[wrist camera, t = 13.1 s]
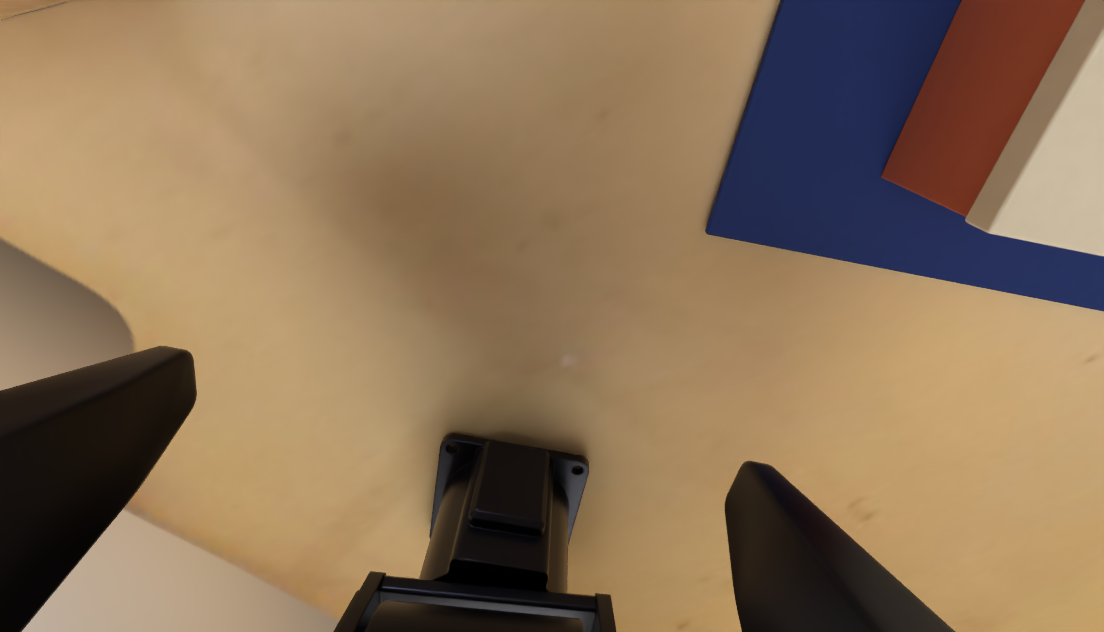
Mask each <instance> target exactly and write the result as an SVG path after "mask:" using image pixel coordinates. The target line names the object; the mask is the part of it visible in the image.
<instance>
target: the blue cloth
mask: <svg viewBox="0 0 1104 632" xmlns="http://www.w3.org/2000/svg"><path fill="white" fill-rule="evenodd" d="M960 3H961V0H781V2H780V5H779V8H778V11H777V14H776V17H775V20H774V23H773V26H772V29H771V32H770V35H769V38H768V41H767V44H766V47H765V50H764V53H763V56H762V60H761V63H760V66H759V69H758V72H757V75H756V78H755V81H754V84H753V87H752V90H751V93H750V96H749V99H748V102H747V105H746V108H745V111H744V114H743V118H742V121H741V124H740V127H739V130H738V133H737V136H736V139H735V142H734V145H733V148H732V151H731V154H730V157H729V160H728V163H727V166H726V169H725V172H724V176H723V179H722V182H721V185H720V188H719V191H718V194H717V197H716V200H715V203H714V206H713V209H712V212H711V215H710V218H709V221H708V224H707V227H706V231H705V232H706V233H707V234H709V235H714V236H720V237H725V238H730V239H735V240H740V241H745V242H750V243H756V244H761V245H766V246H771V247H776V248H781V249H786V250H792V251H797V252H802V253H807V254H812V255H817V256H822V257H828V258H833V259H838V260H843V261H848V262H853V263H858V264H864V265H869V266H874V267H879V268H884V269H889V270H894V271H900V272H905V273H910V274H915V275H920V276H925V277H930V278H936V279H941V280H946V281H951V282H956V283H961V284H966V285H972V286H977V287H982V288H987V289H992V290H997V291H1002V292H1008V293H1013V294H1018V295H1023V296H1028V297H1033V298H1038V299H1044V300H1049V301H1054V302H1059V303H1064V304H1069V305H1075V306H1080V307H1085V308H1090V309H1095V310H1100V311H1104V256H1099V255H1094V254H1089V253H1084V252H1079V251H1074V250H1069V249H1064V248H1059V247H1054V246H1049V245H1044V244H1039V243H1034V242H1029V241H1024V240H1019V239H1014V238H1010V237H1005V236H1000V235H995V234H990V233H987V232H985V231H983V230H981V229H979V228H977V227H975V226H973V225H970V224H968V223H967V222H966V221H965V218H966V217H965V216H963V215H961V214H959V213H956V212H954V211H952V210H950V209H948V208H946V207H944V206H942V205H939V204H937V203H935V202H933V201H931V200H929V199H927V198H924V197H922V196H920V195H918V194H916V193H914V192H912V191H910V190H907V189H905V188H903V187H901V186H899V185H897V184H895V183H892V182H890V181H888V180H886V179H884V178H882V177H881V175H882V172H883V170H884V168H885V166H886V164H887V162H888V159H889V157H890V155H891V153H892V151H893V149H894V146H895V144H896V142H897V140H898V138H899V135H900V133H901V131H902V129H903V127H904V125H905V122H906V120H907V118H908V116H909V114H910V112H911V109H912V107H913V105H914V103H915V101H916V98H917V96H918V94H919V92H920V90H921V88H922V85H923V83H924V81H925V79H926V77H927V74H928V72H929V70H930V68H931V66H932V64H933V61H934V59H935V57H936V55H937V53H938V51H939V48H940V46H941V44H942V42H943V40H944V37H945V35H946V33H947V31H948V29H949V27H950V24H951V22H952V20H953V18H954V16H955V14H956V11H957V9H958V7H959V5H960Z"/></svg>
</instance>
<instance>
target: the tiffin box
mask: <svg viewBox="0 0 1104 632" xmlns="http://www.w3.org/2000/svg"><path fill="white" fill-rule="evenodd" d="M881 177H882V178H884V179H886V180H888V181H890V182H892V183H895V184H897V185H899V186H901V187H903V188H905V189H907V190H910V191H912V192H914V193H916V194H918V195H920V196H922V197H924V198H927V199H929V200H931V201H933V202H935V203H937V204H939V205H942V206H944V207H946V208H948V209H950V210H952V211H954V212H956V213H959V214H961V215H963V216H965V217H966V218H965V221H966V222H967V223H968V224H970V225H973V226H975V227H977V228H979V229H981V230H983V231H985V232H987V233H990V234H995V235H1000V236H1005V237H1010V238H1014V239H1019V240H1024V241H1029V242H1034V243H1039V244H1044V245H1049V246H1054V247H1059V248H1064V249H1069V250H1074V251H1079V252H1084V253H1089V254H1094V255H1099V256H1104V0H961V3H960V5H959V7H958V9H957V11H956V14H955V16H954V18H953V20H952V22H951V24H950V27H949V29H948V31H947V33H946V35H945V37H944V40H943V42H942V44H941V46H940V48H939V51H938V53H937V55H936V57H935V59H934V61H933V64H932V66H931V68H930V70H929V72H928V74H927V77H926V79H925V81H924V83H923V85H922V88H921V90H920V92H919V94H918V96H917V98H916V101H915V103H914V105H913V107H912V109H911V112H910V114H909V116H908V118H907V120H906V122H905V125H904V127H903V129H902V131H901V133H900V135H899V138H898V140H897V142H896V144H895V146H894V149H893V151H892V153H891V155H890V157H889V159H888V162H887V164H886V166H885V168H884V170H883V172H882V175H881Z"/></svg>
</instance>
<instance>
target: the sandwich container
mask: <svg viewBox="0 0 1104 632" xmlns="http://www.w3.org/2000/svg"><path fill="white" fill-rule="evenodd" d="M68 1H71V0H0V20H1V19H4V18H8V17H12V16H16V15H19V14H23V13H27V12H32V11H36V10H40V9H44V8H47V7H50V6H54V5H57V4H60V3H64V2H68Z"/></svg>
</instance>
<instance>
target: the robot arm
mask: <svg viewBox="0 0 1104 632" xmlns="http://www.w3.org/2000/svg"><path fill="white" fill-rule="evenodd" d="M196 396H197V390H196V380H195V370H194V360H193V356H192V355H191V353H190V352H188V351H187V350H183V349H178V348H173V347H168V346H158V347H154V348H151V349H147V350H144V351H140V352H136V353H133V354H129V355H126V356H122V357H119V358H115V359H112V360H108V361H105V362H102V363H98V364H94V365H91V366H87V367H83V368H80V369H77V370H73V371H69V372H65V373H62V374H58V375H55V376H51V377H48V378H44V379H41V380H37V381H34V382H30V383H26V384H23V385H19V386H16V387H13V388H9V389H5V390H2V391H0V632H22V630H23V629H24V628H25V627H26V625H27V624H28V623H29V622H30V621H31V619H32V618H33V617H34V616H35V615H36V613H37V612H38V611H39V610H40V609H41V607H42V606H43V605H44V604H45V602H46V601H47V600H48V599H49V598H50V596H51V595H52V594H53V593H54V592H55V590H56V589H57V588H58V587H59V586H60V584H61V583H62V582H63V581H64V579H65V578H66V577H67V576H68V575H69V573H70V572H71V571H72V570H73V569H74V567H75V566H76V565H77V564H78V562H79V561H80V560H81V559H82V558H83V556H84V555H85V554H86V553H87V552H88V550H89V549H90V548H91V547H92V546H93V544H94V543H95V542H96V541H97V539H98V538H99V537H100V536H101V534H102V533H103V532H104V531H105V530H106V528H107V527H108V526H109V525H110V524H111V523H112V521H113V520H114V519H115V518H116V517H117V515H118V514H119V513H120V512H121V511H122V509H123V508H124V507H125V506H126V504H127V503H128V502H129V501H130V499H131V498H132V497H133V496H134V494H135V493H136V492H137V491H138V489H139V488H140V486H141V485H142V484H143V482H144V481H145V479H146V478H147V476H148V475H149V473H150V472H151V470H152V469H153V467H154V466H155V464H156V463H157V461H158V460H159V458H160V457H161V455H162V454H163V452H164V451H165V449H166V448H167V446H168V445H169V443H170V442H171V440H172V439H173V437H174V436H175V434H176V433H177V431H178V430H179V428H180V427H181V425H182V424H183V422H184V421H185V419H186V418H187V416H188V415H189V413H190V412H191V410H192V408H193V406H194V404H195V401H196ZM449 444H453V445H456V446H457V447H451V446H450V445H449ZM575 466H580V467H581V468H574V467H575ZM588 473H589V462H588V460H587V459H586V458H585V457H583V456H580V455H575V454H569V453H563V452H557V451H552V450H546V449H540V448H534V447H528V446H523V445H517V444H511V443H505V442H499V441H494V440H488V439H482V438H476V437H470V436H464V435H459V434H448V435H446V436H445V437H444V438H443V440H442V443H441V446H440V454H439V462H438V471H437V479H436V487H435V495H434V504H433V512H432V520H431V529H430V543H429V546H428V550H427V553H426V557H425V560H424V564H423V567H422V570H421V574H420V577H419V579H415V578H404V577H394V576H386V573H382V572H372V571H370V573H369V574H368V576H367V578H366V580H365V581H364V583H363V585H362V587H361V588H360V590H358V591H357V592H356V593H355V595H354V597H353V599H352V600H351V602H350V604H349V606H348V607H347V609H346V611H345V613H344V614H343V616H342V618H341V620H340V621H339V623H338V625H337V627H336V628H335V630H334V632H616V626H615V620H614V614H613V608H612V602H611V596H610V595H607V594H597V593H595V596H589V595H579V594H568V593H567V574H568V543H569V540H570V536H571V533H572V529H573V526H574V522H575V519H576V515H577V512H578V508H579V505H580V501H581V498H582V494H583V491H584V487H585V484H586V480H587V477H588ZM725 516H726V525H727V534H728V543H729V552H730V561H731V570H732V579H733V587H734V594H735V600H736V605H737V610H738V615H739V620H740V624H741V629H742V632H955V631H954V630H953V629H952V628H951V627H949V626H948V625H947V624H946V623H945V622H944V621H943V620H942V619H941V618H939V617H938V616H937V615H936V614H935V613H934V612H933V611H932V610H931V609H930V608H928V607H927V606H926V605H925V604H924V603H923V602H922V601H921V600H920V599H918V598H917V597H916V596H915V595H914V594H913V593H912V592H911V591H910V590H909V589H907V588H906V587H905V586H904V585H903V584H902V583H901V582H900V581H899V580H897V579H896V578H895V577H894V576H893V575H892V574H891V573H890V572H889V571H887V570H886V569H885V568H884V567H883V566H882V565H881V564H880V563H879V562H878V561H876V560H875V559H874V558H873V557H872V556H871V555H870V554H869V553H868V552H866V551H865V550H864V549H863V548H862V547H861V546H860V545H859V544H858V543H857V542H855V541H854V540H853V539H852V538H851V537H850V536H849V535H848V534H847V533H845V532H844V531H843V530H842V529H841V528H840V527H839V526H838V525H837V524H835V523H834V522H833V521H832V520H831V519H830V518H829V517H828V516H827V515H826V514H824V513H823V512H822V511H821V510H820V509H819V508H818V507H817V506H816V505H814V504H813V503H812V502H811V501H810V500H809V499H808V498H807V497H806V496H805V495H803V494H802V493H801V492H800V491H799V490H798V489H797V488H796V487H795V486H793V485H792V484H791V483H790V482H789V481H788V480H787V479H786V478H785V477H784V476H782V475H781V474H780V473H779V472H778V471H777V470H776V469H775V468H774V467H772V466H771V465H768V464H764V463H759V462H754V461H746V462H744V463H743V464H742V466H741V467H740V469H739V471H738V473H737V476H736V478H735V480H734V482H733V484H732V486H731V488H730V490H729V492H728V494H727V497H726V501H725Z"/></svg>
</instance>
